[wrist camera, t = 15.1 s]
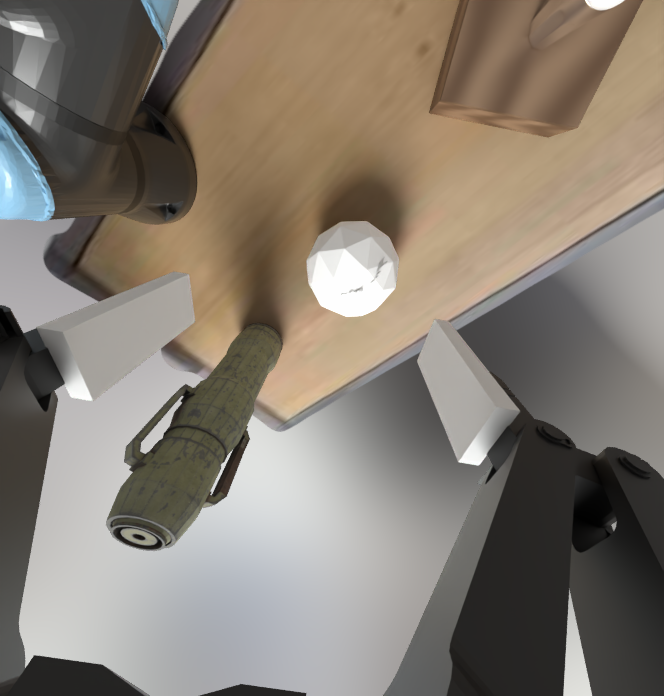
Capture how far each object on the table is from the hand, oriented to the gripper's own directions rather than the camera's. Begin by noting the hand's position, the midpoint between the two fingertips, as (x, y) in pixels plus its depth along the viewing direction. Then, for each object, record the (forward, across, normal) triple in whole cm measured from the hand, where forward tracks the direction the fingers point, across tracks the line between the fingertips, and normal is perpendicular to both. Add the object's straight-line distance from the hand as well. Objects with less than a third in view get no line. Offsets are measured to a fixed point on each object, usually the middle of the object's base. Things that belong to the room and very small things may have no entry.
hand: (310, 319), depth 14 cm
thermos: (+32, -12, -22) cm, 41 cm away
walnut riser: (+32, +17, +24) cm, 43 cm away
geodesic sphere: (+32, +3, -3) cm, 32 cm away
